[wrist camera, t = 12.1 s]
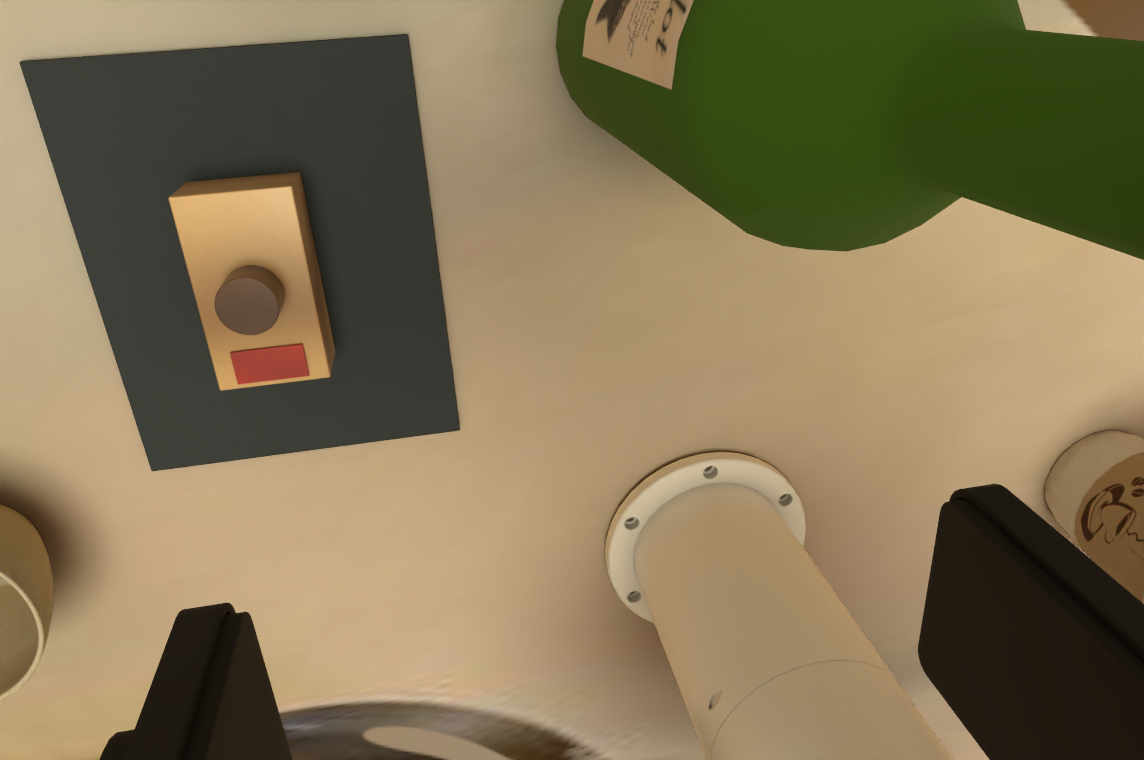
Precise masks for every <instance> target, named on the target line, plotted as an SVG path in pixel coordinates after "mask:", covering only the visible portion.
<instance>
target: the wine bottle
mask: <svg viewBox="0 0 1144 760" xmlns="http://www.w3.org/2000/svg"><path fill="white" fill-rule="evenodd" d="M556 47H557V53H558V59H559V65H560V72H561V75H562V77H563V79H564V82H565V84H566V86H567V89H568V91H569V93H570V96H571V97H572V99H573V100H574V101H575V102H576V104H577V105H578V106H579V108H580V109H581V110H582V111H583V113H584V114H585V115H586V116H587V117H588V118H589V119H591V120H592V121H593V122H595V123H596V124H597V125H599V126H600V127H602V128H603V129H604V130H606V131H607V132H608V133H610V134H611V135H613V136H614V137H615V138H617V139H618V140H619V141H621V142H622V143H624V144H625V145H626V146H628V147H629V148H630V149H632V150H633V151H635V152H636V153H637V154H639V155H640V156H641V157H643V158H644V159H646V160H647V161H648V162H650V163H651V164H652V165H654V166H655V167H657V168H658V169H659V170H661V171H662V172H663V173H665V174H666V175H668V176H669V177H670V178H672V179H673V180H674V181H676V182H677V183H679V184H680V185H681V186H683V187H684V188H686V189H687V190H688V191H690V192H691V193H692V194H694V195H695V196H697V197H698V198H699V199H701V200H702V201H703V202H705V203H706V204H708V205H709V206H710V207H712V208H713V209H714V210H716V211H717V212H719V213H720V214H721V215H723V216H724V217H725V218H727V219H728V220H730V221H731V222H732V223H734V224H735V225H736V226H738V227H739V228H741V229H742V230H743V231H745V232H746V233H748V234H751V235H753V236H756V237H759V238H762V239H765V240H768V241H771V242H773V243H776V244H779V245H782V246H788V247H796V248H803V249H812V250H832V251H850V250H855V249H859V248H864V247H868V246H873V245H877V244H882V243H886V242H888V241H890V240H892V239H894V238H896V237H898V236H900V235H902V234H904V233H906V232H908V231H910V230H912V229H914V228H916V227H918V226H920V225H922V224H923V223H925V222H926V221H928V220H929V219H931V218H932V217H933V216H935V215H936V214H938V213H939V212H941V211H942V210H943V209H945V208H946V207H948V206H949V205H951V204H952V203H953V202H955V201H956V200H958V199H959V198H961V197H964V198H967V199H970V200H972V201H975V202H978V203H981V204H984V205H987V206H990V207H993V208H996V209H998V210H1001V211H1004V212H1007V213H1010V214H1013V215H1016V216H1019V217H1022V218H1024V219H1027V220H1030V221H1033V222H1036V223H1039V224H1042V225H1045V226H1048V227H1050V228H1053V229H1056V230H1059V231H1062V232H1065V233H1068V234H1071V235H1074V236H1076V237H1079V238H1082V239H1085V240H1088V241H1091V242H1094V243H1097V244H1100V245H1102V246H1105V247H1108V248H1111V249H1114V250H1117V251H1120V252H1123V253H1126V254H1128V255H1131V256H1134V257H1137V258H1140V259H1143V260H1144V41H1135V40H1125V39H1113V38H1104V37H1094V36H1083V35H1073V34H1062V33H1052V32H1042V31H1031V30H1026V28H1025V25H1024V22H1023V18H1022V15H1021V12H1020V8H1019V5H1018V2H1017V0H565V1H564V4H563V7H562V10H561V13H560V16H559V20H558V32H557V44H556Z"/></svg>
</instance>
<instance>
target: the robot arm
mask: <svg viewBox="0 0 1144 760" xmlns="http://www.w3.org/2000/svg"><path fill="white" fill-rule="evenodd" d="M805 535H806V519H805V514H804V510H803V506H802V503H801V501H800V499H799V497H798V495H797V493H796V492H795V490H794V488H793V487H792V486H791V485H790V483H789V482H788V481H787V480H786V478H785V477H784V476H783V475H782V474H781V473H780V472H778V471H777V470H776V469H775V468H774V467H772V466H771V465H769V464H767V463H765V462H763V461H761V460H759V459H758V458H755V457H751V456H748V455H744V454H740V453H730V452H713V453H703V454H698V455H694V456H691V457H687V458H683V459H680V460H678V461H676V462H674V463H671V464H669V465H667V466H665V467H663V468H661V469H659V470H658V471H656V472H655V473H653V474H652V475H650V476H649V477H647V478H646V479H645V480H644V481H642V482H641V483H640V484H639V485H638V486H637V487H636V488H635V489H634V490H633V491H632V492H631V493H630V494H629V495H628V496H627V498H626V499H625V500H624V502H623V503H622V504H621V505H620V507H619V508H618V510H617V512H616V514H615V516H614V518H613V520H612V522H611V524H610V528H609V531H608V535H607V538H606V548H605V559H606V565H607V571H608V574H609V577H610V579H611V582H612V585H613V588H614V589H615V591H616V593H617V594H618V596H619V598H620V600H621V601H622V602H623V603H624V604H625V605H626V606H627V607H628V608H629V609H630V610H631V611H632V612H634V613H635V614H637V615H638V616H640V617H642V618H643V619H645V620H647V621H650V622H652V623H654V624H655V627H656V629H657V632H658V635H659V637H660V640H661V642H662V645H663V648H664V650H665V653H666V655H667V658H668V661H669V663H670V666H671V668H672V671H673V674H674V676H675V679H676V681H677V684H678V687H679V689H680V692H681V694H682V697H683V700H684V702H685V705H686V707H687V710H688V713H689V715H690V718H691V721H692V723H693V726H694V728H695V731H696V734H697V736H698V739H699V741H700V744H701V747H702V749H703V752H704V754H705V757H706V759H707V760H954V759H953V758H952V756H951V755H950V754H949V752H948V751H947V750H946V748H945V747H944V746H943V744H942V743H941V742H940V740H939V739H938V737H937V736H936V735H935V733H934V732H933V731H932V729H931V728H930V727H929V725H928V724H927V723H926V721H925V720H924V718H923V717H922V716H921V714H920V713H919V711H918V710H917V708H916V707H915V706H914V704H913V703H912V701H911V700H910V699H909V697H908V696H907V694H906V693H905V691H904V690H903V689H902V687H901V686H900V684H899V683H898V682H897V680H896V679H895V677H894V676H893V674H892V673H891V672H890V670H889V669H888V667H887V666H886V665H885V663H884V662H883V660H882V659H881V657H880V656H879V654H878V653H877V652H876V650H875V649H874V647H873V646H872V644H871V643H870V642H869V640H868V639H867V637H866V636H865V635H864V633H863V632H862V630H861V629H860V627H859V626H858V625H857V623H856V622H855V620H854V619H853V618H852V616H851V615H850V613H849V612H848V610H847V609H846V608H845V606H844V605H843V603H842V602H841V600H840V599H839V598H838V596H837V595H836V593H835V592H834V591H833V589H832V588H831V586H830V585H829V583H828V582H827V581H826V579H825V578H824V576H823V575H822V573H821V572H820V571H819V569H818V568H817V566H816V565H815V564H814V562H813V561H812V559H811V558H810V556H809V555H808V554H807V552H806V551H805V549H804V548H803V546H804V540H805ZM918 654H919V659H920V663H921V666H922V668H923V670H924V672H925V674H926V675H927V677H928V678H929V679H930V681H931V682H932V683H933V685H934V686H935V687H936V689H937V690H938V691H939V693H940V694H941V695H942V697H943V698H944V699H945V701H946V702H947V703H948V705H949V706H950V707H951V709H952V710H953V711H954V713H955V714H956V715H957V717H958V718H959V719H960V721H961V722H962V723H963V725H964V726H965V727H966V729H967V730H968V731H969V733H970V734H971V735H972V737H973V738H974V739H975V741H976V742H977V743H978V745H979V746H980V747H981V749H982V750H983V751H984V753H985V754H986V755H987V757H988V758H989V759H990V760H1144V604H1143V603H1142V602H1141V601H1140V600H1138V599H1137V598H1136V597H1135V596H1134V595H1132V594H1131V593H1130V592H1129V591H1128V590H1127V589H1125V588H1124V587H1123V586H1122V585H1121V584H1119V583H1118V582H1117V581H1116V580H1115V579H1113V578H1112V577H1111V576H1110V575H1109V574H1107V573H1106V572H1105V571H1104V570H1103V569H1102V568H1100V567H1099V566H1098V565H1097V564H1096V563H1094V562H1093V561H1092V560H1091V559H1090V558H1088V557H1087V556H1086V555H1085V554H1084V553H1083V552H1081V551H1080V550H1079V549H1078V548H1077V547H1075V546H1074V545H1073V544H1072V543H1071V542H1069V541H1068V540H1067V539H1066V538H1065V537H1064V536H1062V535H1061V534H1060V533H1059V532H1058V531H1056V530H1055V529H1054V528H1053V527H1052V526H1050V525H1049V524H1048V523H1047V522H1046V521H1044V520H1043V519H1042V518H1041V517H1040V516H1039V515H1037V514H1036V513H1035V512H1034V511H1033V510H1031V509H1030V508H1029V507H1028V506H1027V505H1025V504H1024V503H1023V502H1022V501H1021V500H1020V499H1018V498H1017V497H1016V496H1015V495H1014V494H1012V493H1011V492H1010V491H1009V490H1008V489H1006V488H1005V487H1003V486H1001V485H998V484H991V485H984V486H978V487H972V488H965V489H959V490H957V491H955V492H954V493H953V494H952V495H951V498H950V501H949V502H946V503H944V504H943V506H942V507H941V511H940V516H939V522H938V528H937V534H936V540H935V546H934V553H933V559H932V565H931V571H930V577H929V583H928V589H927V595H926V601H925V608H924V614H923V620H922V626H921V632H920V638H919V644H918ZM100 760H292V757H291V753H290V750H289V746H288V743H287V739H286V736H285V732H284V729H283V725H282V722H281V718H280V715H279V712H278V708H277V705H276V701H275V698H274V694H273V691H272V687H271V684H270V680H269V677H268V673H267V670H266V667H265V663H264V660H263V656H262V653H261V649H260V646H259V642H258V639H257V635H256V632H255V628H254V625H253V622H252V619H251V616H250V614H249V613H248V612H242V613H236V612H235V610H234V608H233V606H232V605H231V604H230V603H223V604H216V605H210V606H203V607H197V608H190V609H184V610H182V611H180V612H179V613H178V615H177V617H176V619H175V622H174V625H173V628H172V630H171V633H170V636H169V638H168V641H167V644H166V646H165V649H164V652H163V655H162V657H161V660H160V663H159V665H158V668H157V671H156V673H155V676H154V679H153V681H152V684H151V687H150V690H149V692H148V695H147V698H146V700H145V703H144V706H143V708H142V711H141V714H140V717H139V719H138V722H137V725H136V727H135V730H129V731H123V732H118V733H116V734H115V735H114V736H112V737H111V738H110V739H109V741H108V743H107V745H106V747H105V749H104V750H103V753H102V755H101V758H100Z"/></svg>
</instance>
